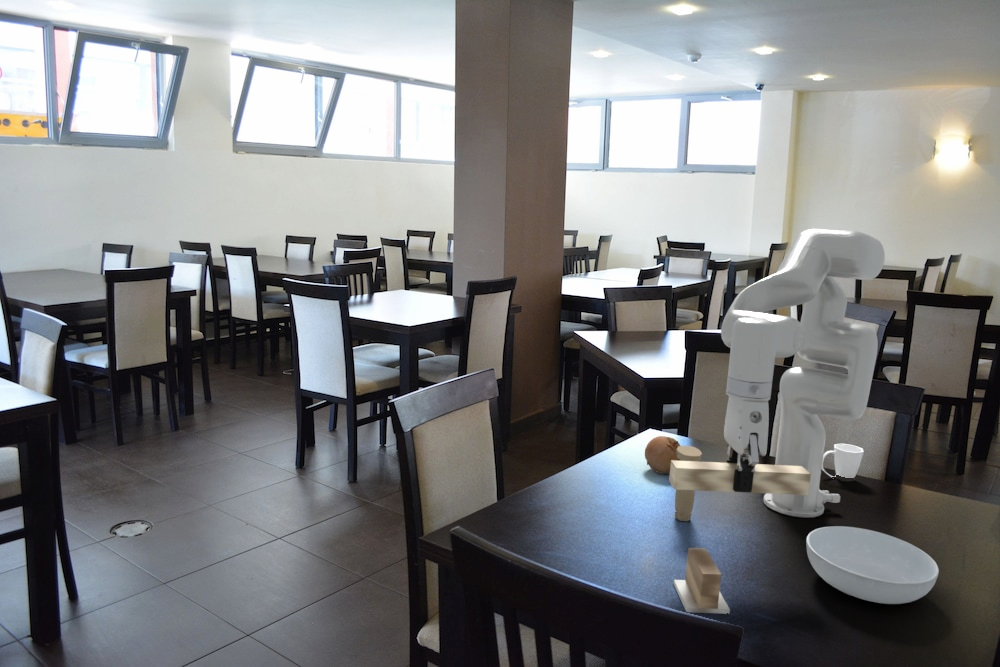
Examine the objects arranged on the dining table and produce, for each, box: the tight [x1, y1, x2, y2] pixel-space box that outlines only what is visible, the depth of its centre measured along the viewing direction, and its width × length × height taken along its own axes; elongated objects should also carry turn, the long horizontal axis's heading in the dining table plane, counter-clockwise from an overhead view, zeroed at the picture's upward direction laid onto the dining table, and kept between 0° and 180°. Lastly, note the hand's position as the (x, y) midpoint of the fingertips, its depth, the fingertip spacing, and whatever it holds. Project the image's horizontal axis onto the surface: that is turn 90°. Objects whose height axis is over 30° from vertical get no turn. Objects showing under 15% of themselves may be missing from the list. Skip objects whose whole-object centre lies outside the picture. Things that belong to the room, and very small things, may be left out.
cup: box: [821, 442, 865, 478], centre depth 184 cm, size 7×10×8 cm
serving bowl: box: [805, 525, 940, 605], centre depth 131 cm, size 21×21×7 cm
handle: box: [674, 445, 703, 522], centre depth 155 cm, size 5×6×15 cm
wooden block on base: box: [673, 547, 731, 615], centre depth 125 cm, size 7×9×7 cm
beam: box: [668, 460, 811, 495], centre depth 134 cm, size 24×4×4 cm, turn 90°
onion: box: [644, 435, 681, 475], centre depth 183 cm, size 10×9×10 cm
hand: (737, 485), depth 134 cm, fingers closed on beam, 4 cm apart
